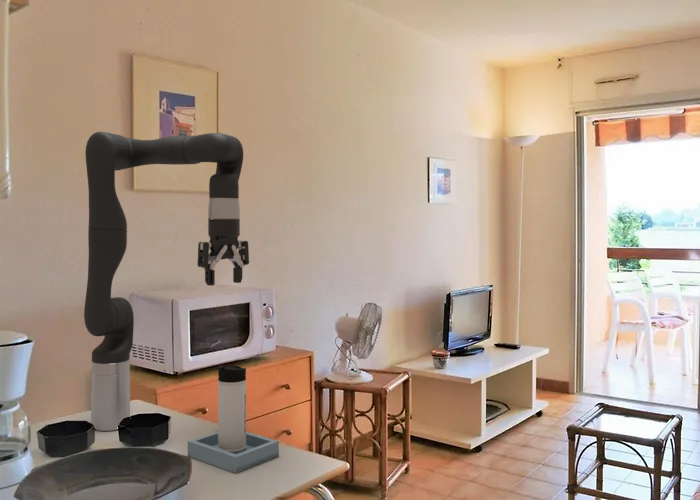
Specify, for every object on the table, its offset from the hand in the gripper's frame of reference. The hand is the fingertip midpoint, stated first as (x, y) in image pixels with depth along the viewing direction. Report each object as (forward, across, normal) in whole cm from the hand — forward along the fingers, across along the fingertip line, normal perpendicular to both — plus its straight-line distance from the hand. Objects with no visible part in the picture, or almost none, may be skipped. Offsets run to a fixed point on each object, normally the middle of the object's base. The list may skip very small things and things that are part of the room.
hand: (224, 284), depth 159 cm
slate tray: (+38, +7, +11) cm, 40 cm away
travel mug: (+37, +7, +11) cm, 40 cm away
